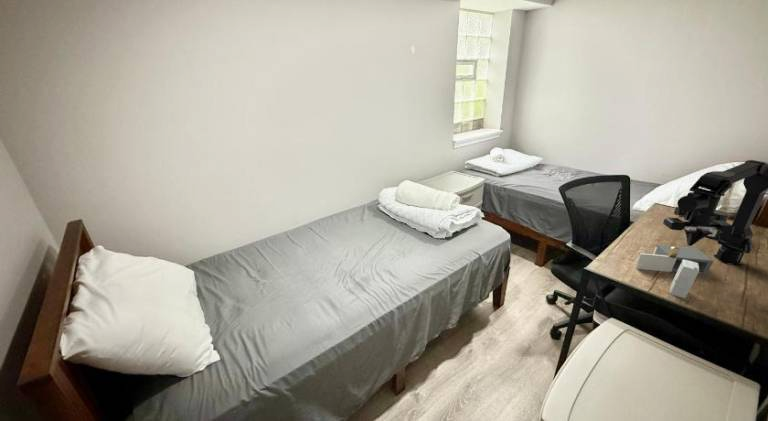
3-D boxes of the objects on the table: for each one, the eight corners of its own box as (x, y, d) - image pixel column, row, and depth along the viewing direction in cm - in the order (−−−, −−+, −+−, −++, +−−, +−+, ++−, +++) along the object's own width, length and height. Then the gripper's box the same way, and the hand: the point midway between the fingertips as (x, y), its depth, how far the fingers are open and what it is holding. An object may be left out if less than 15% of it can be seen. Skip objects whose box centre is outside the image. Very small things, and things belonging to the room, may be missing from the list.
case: (690, 261, 130) (696, 247, 128) (706, 274, 121) (713, 260, 119) (651, 257, 133) (656, 244, 131) (664, 270, 124) (670, 256, 122)
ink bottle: (691, 230, 155) (700, 208, 151) (710, 230, 155) (720, 208, 150) (708, 239, 147) (718, 216, 142) (728, 240, 146) (739, 217, 141)
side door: (668, 269, 124) (678, 246, 120) (672, 273, 122) (681, 249, 118) (634, 266, 127) (642, 243, 123) (637, 269, 125) (645, 246, 121)
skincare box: (669, 286, 115) (681, 258, 111) (686, 290, 113) (698, 262, 108) (669, 294, 111) (681, 265, 106) (686, 299, 108) (699, 270, 104)
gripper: (720, 201, 117) (704, 237, 124) (661, 198, 122) (649, 233, 128) (743, 212, 108) (725, 251, 114) (678, 209, 112) (664, 246, 118)
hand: (689, 245), depth 119 cm, fingers closed
